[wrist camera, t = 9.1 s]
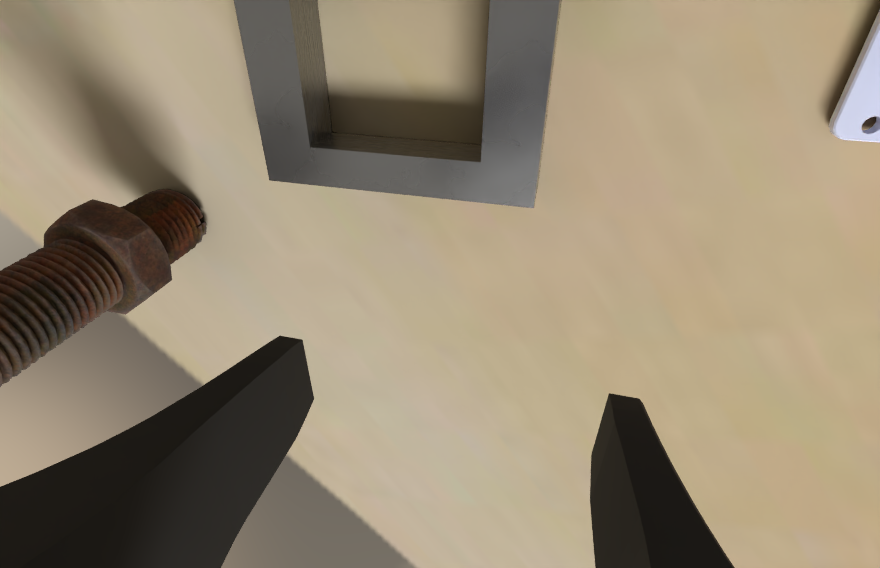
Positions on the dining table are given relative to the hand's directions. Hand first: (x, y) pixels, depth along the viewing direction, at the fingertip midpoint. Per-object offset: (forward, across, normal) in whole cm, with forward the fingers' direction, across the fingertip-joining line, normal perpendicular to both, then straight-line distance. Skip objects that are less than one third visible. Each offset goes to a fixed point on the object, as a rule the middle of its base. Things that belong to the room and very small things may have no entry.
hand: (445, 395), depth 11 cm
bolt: (+11, +16, +2) cm, 19 cm away
